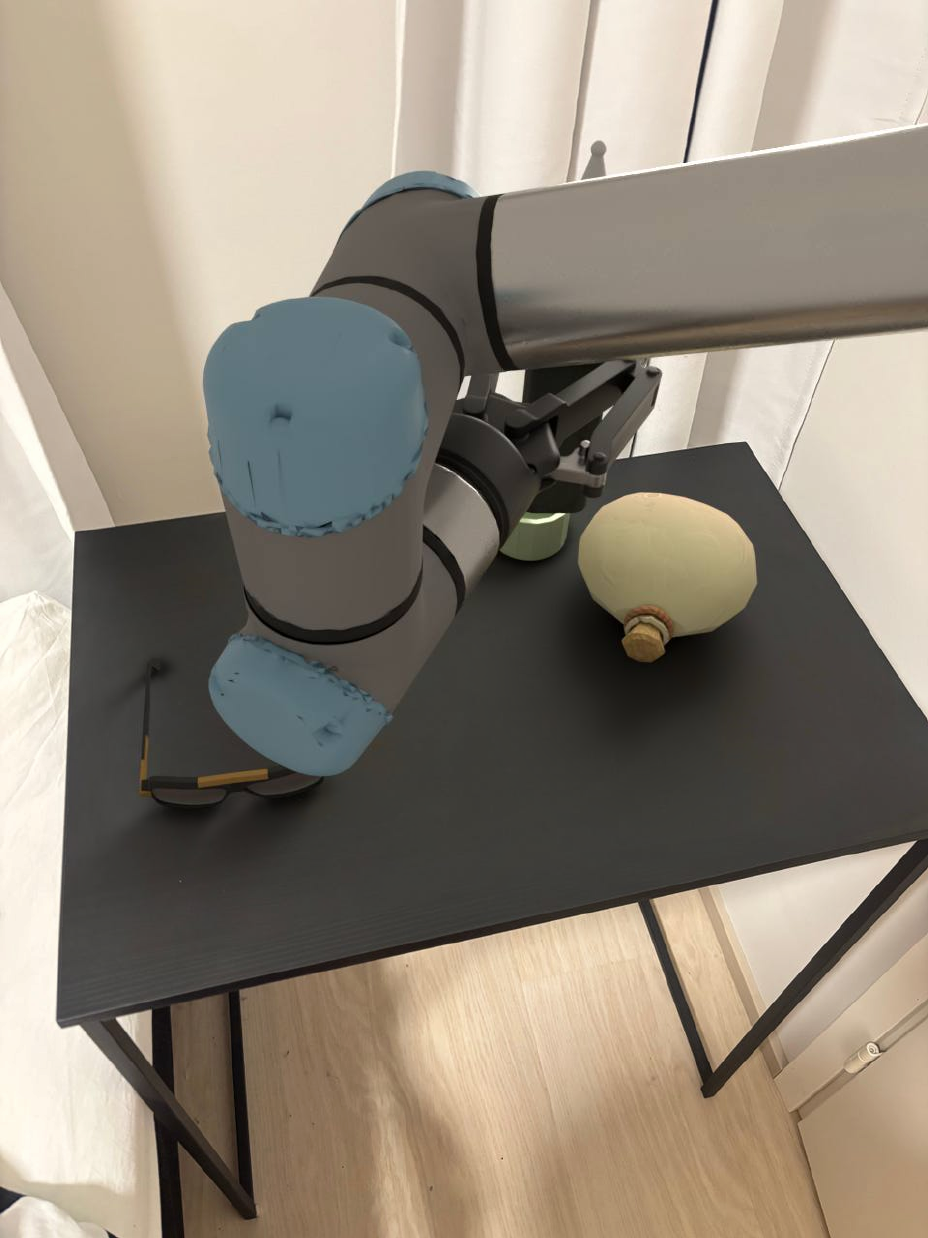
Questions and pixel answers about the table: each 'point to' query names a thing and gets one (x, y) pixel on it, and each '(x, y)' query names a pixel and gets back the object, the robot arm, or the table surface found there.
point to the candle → (554, 381)
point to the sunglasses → (215, 777)
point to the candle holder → (537, 536)
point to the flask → (666, 568)
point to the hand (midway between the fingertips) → (600, 298)
